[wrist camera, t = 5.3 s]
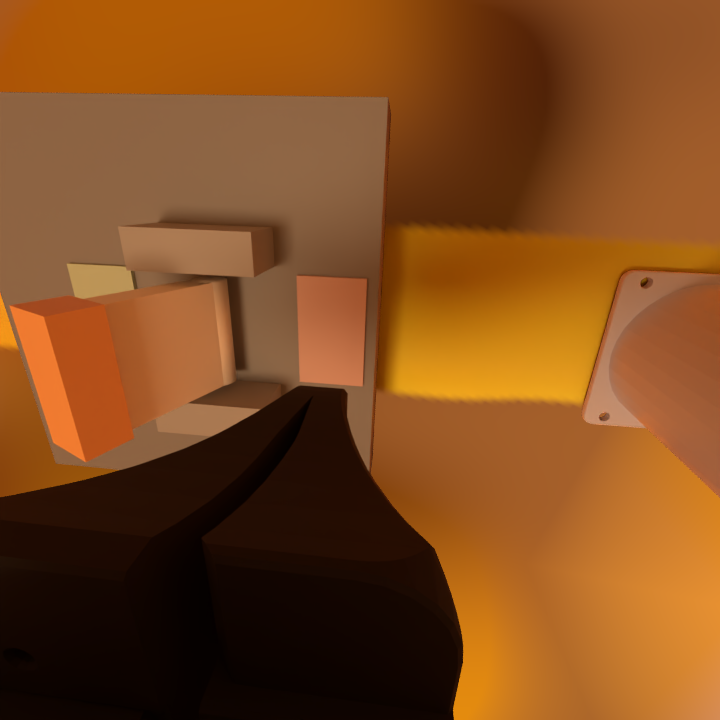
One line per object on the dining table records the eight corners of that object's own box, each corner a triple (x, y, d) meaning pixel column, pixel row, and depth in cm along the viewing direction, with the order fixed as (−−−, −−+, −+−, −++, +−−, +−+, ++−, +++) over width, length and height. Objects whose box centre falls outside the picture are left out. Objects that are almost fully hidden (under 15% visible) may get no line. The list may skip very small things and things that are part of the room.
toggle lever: (239, 277, 16) (43, 316, 11) (248, 381, 18) (85, 462, 12) (205, 272, 17) (9, 305, 11) (217, 371, 19) (53, 442, 13)
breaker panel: (391, 113, 17) (385, 76, 12) (372, 459, 24) (363, 530, 19) (5, 107, 18) (-148, 72, 13) (94, 434, 25) (16, 493, 20)
